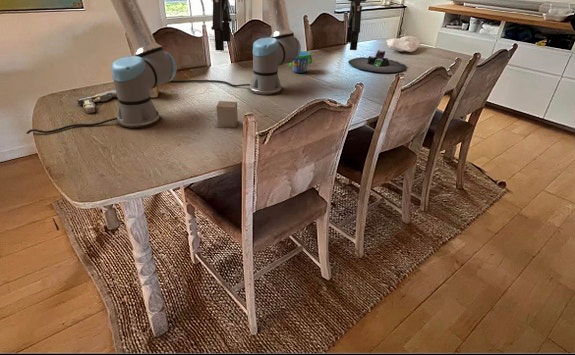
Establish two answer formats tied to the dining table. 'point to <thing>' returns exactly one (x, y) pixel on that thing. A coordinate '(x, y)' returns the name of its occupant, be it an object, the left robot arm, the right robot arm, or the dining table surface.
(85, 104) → the handgun
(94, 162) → the dining table surface
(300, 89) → the dining table surface
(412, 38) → the crumpled cloth
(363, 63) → the dark round tray
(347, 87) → the dining table surface
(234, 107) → the brick
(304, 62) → the snack cup
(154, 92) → the candy box
